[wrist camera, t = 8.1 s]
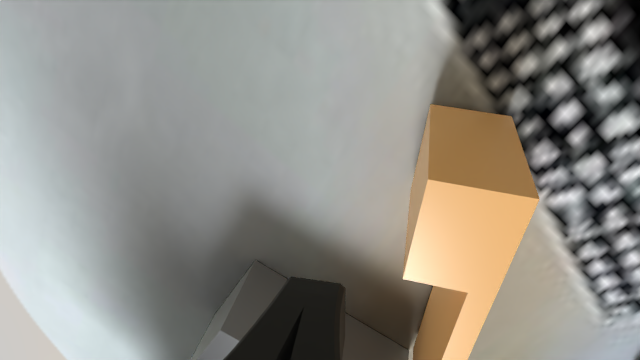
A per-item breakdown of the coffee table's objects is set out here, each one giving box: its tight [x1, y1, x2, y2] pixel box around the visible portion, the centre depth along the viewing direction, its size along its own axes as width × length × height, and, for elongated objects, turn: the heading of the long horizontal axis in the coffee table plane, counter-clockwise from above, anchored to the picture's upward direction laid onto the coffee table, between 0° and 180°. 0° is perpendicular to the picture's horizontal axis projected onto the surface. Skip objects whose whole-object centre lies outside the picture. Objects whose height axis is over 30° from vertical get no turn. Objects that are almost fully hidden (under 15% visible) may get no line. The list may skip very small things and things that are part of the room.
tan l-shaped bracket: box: [403, 104, 539, 360], centre depth 17 cm, size 3×14×5 cm, turn 176°
